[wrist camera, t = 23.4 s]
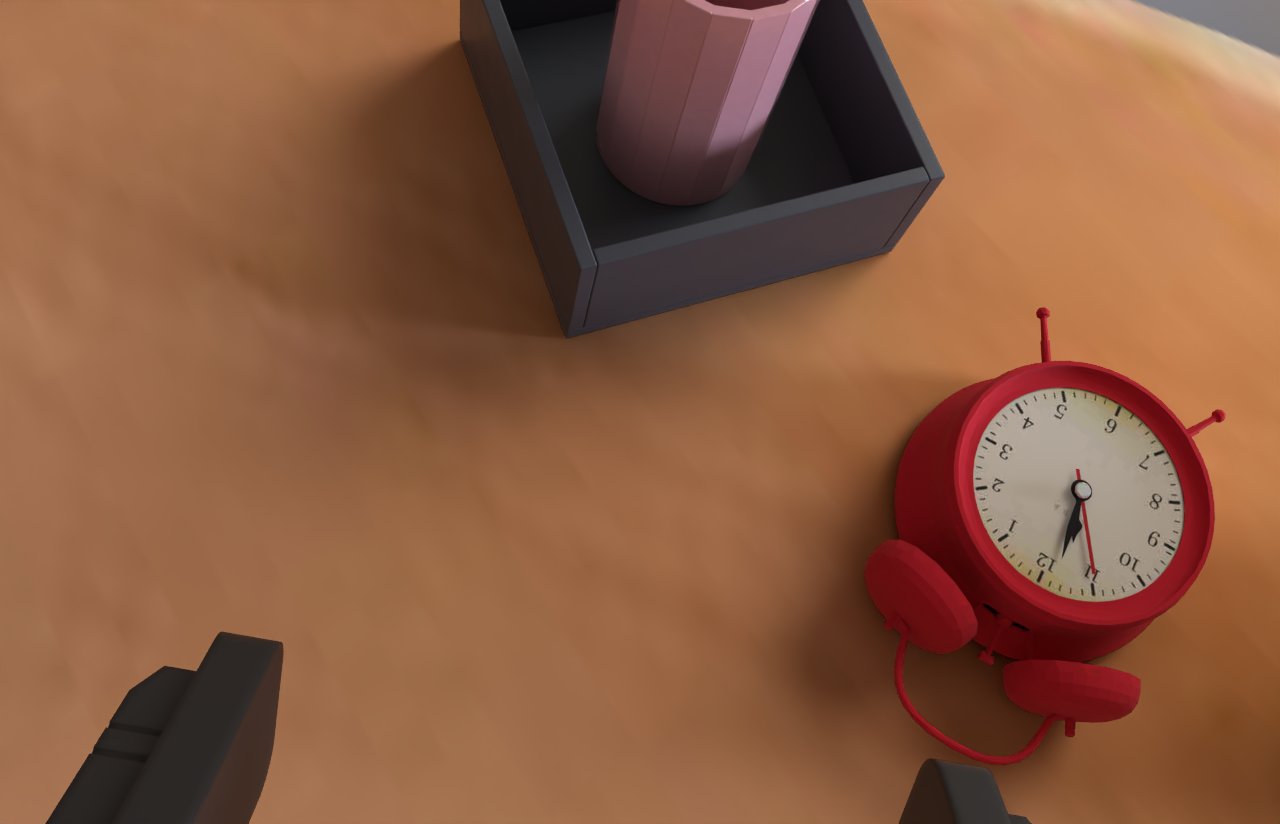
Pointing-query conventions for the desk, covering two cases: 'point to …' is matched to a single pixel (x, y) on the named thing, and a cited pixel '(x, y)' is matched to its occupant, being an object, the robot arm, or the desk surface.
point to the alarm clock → (1044, 534)
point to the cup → (693, 91)
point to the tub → (718, 229)
